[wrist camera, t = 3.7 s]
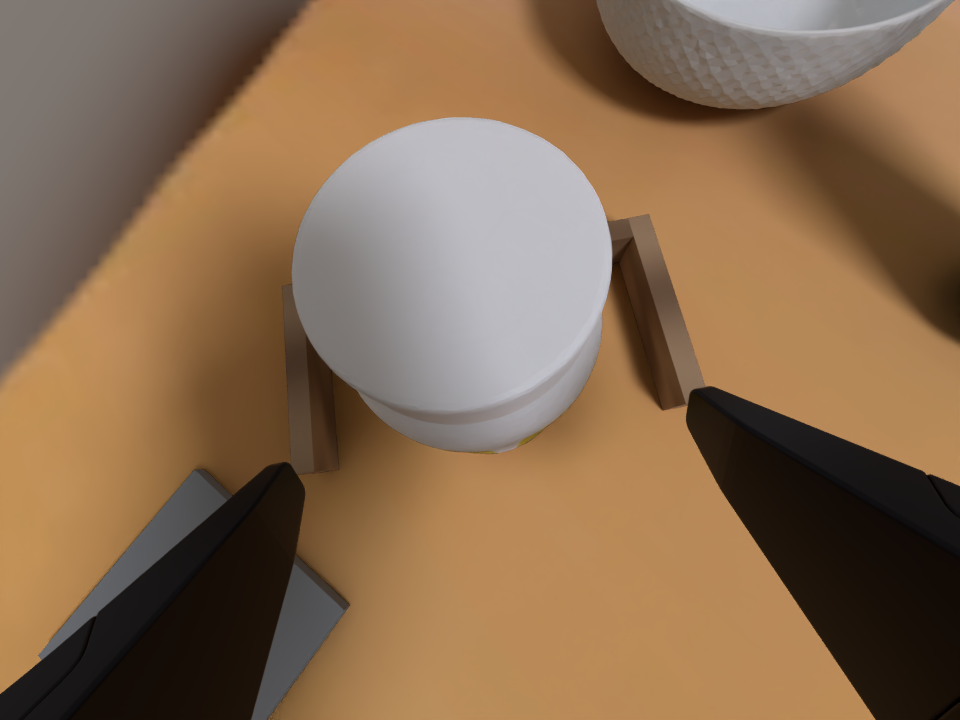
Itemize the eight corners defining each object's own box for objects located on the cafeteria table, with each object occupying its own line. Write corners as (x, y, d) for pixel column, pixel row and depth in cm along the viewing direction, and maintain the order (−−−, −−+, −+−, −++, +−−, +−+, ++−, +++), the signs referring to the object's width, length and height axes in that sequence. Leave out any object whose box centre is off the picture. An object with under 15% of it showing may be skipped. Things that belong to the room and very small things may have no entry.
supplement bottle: (538, 299, 20) (586, 52, 8) (578, 433, 19) (722, 389, 6) (404, 332, 20) (242, 140, 8) (431, 469, 19) (275, 498, 6)
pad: (349, 605, 17) (344, 610, 17) (194, 820, 16) (182, 834, 15) (204, 469, 19) (194, 469, 19) (53, 649, 18) (38, 655, 17)
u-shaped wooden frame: (683, 406, 18) (709, 399, 16) (319, 472, 19) (291, 475, 17) (632, 242, 21) (648, 214, 18) (308, 305, 21) (282, 286, 19)
